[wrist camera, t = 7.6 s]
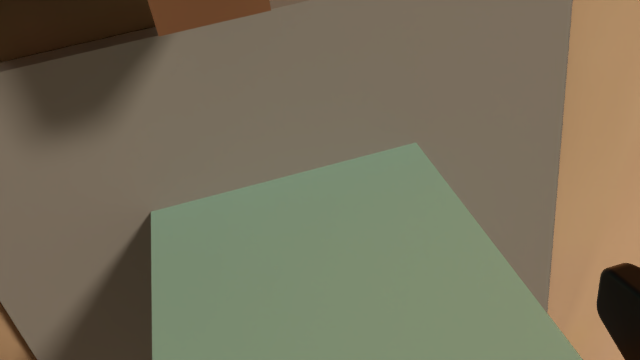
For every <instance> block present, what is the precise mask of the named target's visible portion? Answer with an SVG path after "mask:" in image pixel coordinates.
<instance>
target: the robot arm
mask: <svg viewBox="0 0 640 360" xmlns="http://www.w3.org/2000/svg"><path fill="white" fill-rule="evenodd" d="M597 310H598V314H599V316H600V318H601V320H602V322H603V324H604V325H605V327H606V329H607V330H608V332H609V334H610V335H611V337H612V339H613V340H614V342H615V344H616V345H617V347H618V349H619V350H620V352H621V354H622V355H623V357H624V359H625V360H640V267H637V266H635V265H633V264H629V263H623V264H619V265H616V266H612V267H609V268H606V269H604V270H603V272H602V273H601V277H600V283H599V290H598V297H597Z"/></svg>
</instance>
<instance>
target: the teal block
mask: <svg viewBox="0 0 640 360" xmlns="http://www.w3.org/2000/svg"><path fill="white" fill-rule="evenodd" d="M151 285H152V360H583V359H582V358H581V357H580V355H579V354H578V353H577V351H576V350H575V349H574V348H573V346H572V345H571V344H570V342H569V341H568V340H567V338H566V337H565V336H564V335H563V333H562V332H561V331H560V329H559V328H558V327H557V325H556V324H555V323H554V321H553V320H552V319H551V318H550V316H549V315H548V314H547V312H546V311H545V310H544V308H543V307H542V306H541V305H540V303H539V302H538V301H537V299H536V298H535V297H534V295H533V294H532V293H531V291H530V290H529V289H528V288H527V286H526V285H525V284H524V282H523V281H522V280H521V278H520V277H519V276H518V275H517V273H516V272H515V271H514V269H513V268H512V267H511V265H510V264H509V263H508V262H507V260H506V259H505V258H504V256H503V255H502V254H501V252H500V251H499V250H498V248H497V247H496V246H495V245H494V243H493V242H492V241H491V239H490V238H489V237H488V235H487V234H486V233H485V232H484V230H483V229H482V228H481V226H480V225H479V224H478V222H477V221H476V220H475V218H474V217H473V216H472V215H471V213H470V212H469V211H468V209H467V208H466V207H465V205H464V204H463V203H462V202H461V200H460V199H459V198H458V196H457V195H456V194H455V192H454V191H453V190H452V189H451V187H450V186H449V185H448V183H447V182H446V181H445V179H444V178H443V177H442V175H441V174H440V173H439V172H438V170H437V169H436V168H435V166H434V165H433V164H432V162H431V161H430V160H429V159H428V157H427V156H426V155H425V153H424V152H423V151H422V149H421V148H420V147H419V145H418V144H417V143H412V144H408V145H404V146H400V147H397V148H393V149H389V150H385V151H381V152H377V153H374V154H370V155H366V156H362V157H358V158H354V159H351V160H347V161H343V162H339V163H335V164H332V165H328V166H324V167H320V168H316V169H312V170H309V171H305V172H301V173H297V174H293V175H289V176H286V177H282V178H278V179H274V180H270V181H266V182H263V183H259V184H255V185H251V186H247V187H244V188H240V189H236V190H232V191H228V192H224V193H221V194H217V195H213V196H209V197H205V198H201V199H198V200H194V201H190V202H186V203H182V204H179V205H175V206H171V207H167V208H163V209H159V210H156V211H152V212H151Z"/></svg>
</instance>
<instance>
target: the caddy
mask: <svg viewBox="0 0 640 360" xmlns="http://www.w3.org/2000/svg"><path fill="white" fill-rule="evenodd" d="M147 1H148V4H149V7H150V10H151V14H152V17H153V20H154V23H155V26H156V29H157V32H158V36H163V35H168V34H172V33H176V32H181V31H185V30H189V29H194V28H198V27H202V26H207V25H211V24H215V23H219V22H224V21H228V20H232V19H237V18H241V17H245V16H250V15H254V14H258V13H263V12H267V11H271V6H270V1H269V0H147Z"/></svg>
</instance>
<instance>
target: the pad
mask: <svg viewBox="0 0 640 360" xmlns="http://www.w3.org/2000/svg"><path fill="white" fill-rule="evenodd" d="M269 1H270V6H271V11H267V12H263V13H258V14H254V15H250V16H245V17H241V18H237V19H232V20H228V21H224V22H219V23H215V24H211V25H207V26H202V27H198V28H194V29H189V30H185V31H181V32H176V33H172V34H168V35H163V36H158V32H157V29H156V27H152V28H148V29H143V30H139V31H135V32H130V33H126V34H122V35H117V36H113V37H109V38H104V39H100V40H96V41H91V42H87V43H83V44H78V45H74V46H70V47H65V48H61V49H57V50H52V51H48V52H44V53H39V54H35V55H31V56H26V57H22V58H18V59H13V60H9V61H4V62H0V302H1V304H2V305H3V307H4V308H5V310H6V311H7V313H8V315H9V316H10V318H11V319H12V321H13V322H14V324H15V326H16V327H17V329H18V330H19V332H20V333H21V335H22V337H23V338H24V340H25V341H26V343H27V345H28V346H29V348H30V349H31V351H32V352H33V354H34V356H35V357H36V359H37V360H152V285H151V212H152V211H156V210H159V209H163V208H167V207H171V206H175V205H179V204H182V203H186V202H190V201H194V200H198V199H201V198H205V197H209V196H213V195H217V194H221V193H224V192H228V191H232V190H236V189H240V188H244V187H247V186H251V185H255V184H259V183H263V182H266V181H270V180H274V179H278V178H282V177H286V176H289V175H293V174H297V173H301V172H305V171H309V170H312V169H316V168H320V167H324V166H328V165H332V164H335V163H339V162H343V161H347V160H351V159H354V158H358V157H362V156H366V155H370V154H374V153H377V152H381V151H385V150H389V149H393V148H397V147H400V146H404V145H408V144H412V143H417V144H418V145H419V147H420V148H421V149H422V151H423V152H424V153H425V155H426V156H427V157H428V159H429V160H430V161H431V162H432V164H433V165H434V166H435V168H436V169H437V170H438V172H439V173H440V174H441V175H442V177H443V178H444V179H445V181H446V182H447V183H448V185H449V186H450V187H451V189H452V190H453V191H454V192H455V194H456V195H457V196H458V198H459V199H460V200H461V202H462V203H463V204H464V205H465V207H466V208H467V209H468V211H469V212H470V213H471V215H472V216H473V217H474V218H475V220H476V221H477V222H478V224H479V225H480V226H481V228H482V229H483V230H484V232H485V233H486V234H487V235H488V237H489V238H490V239H491V241H492V242H493V243H494V245H495V246H496V247H497V248H498V250H499V251H500V252H501V254H502V255H503V256H504V258H505V259H506V260H507V262H508V263H509V264H510V265H511V267H512V268H513V269H514V271H515V272H516V273H517V275H518V276H519V277H520V278H521V280H522V281H523V282H524V284H525V285H526V286H527V288H528V289H529V290H530V291H531V293H532V294H533V295H534V297H535V298H536V299H537V301H538V302H539V303H540V305H541V306H542V307H543V308H544V310H545V311H546V312H547V309H548V297H549V285H550V272H551V260H552V248H553V235H554V223H555V211H556V198H557V186H558V174H559V161H560V149H561V137H562V125H563V112H564V100H565V88H566V75H567V63H568V51H569V38H570V26H571V14H572V1H573V0H269Z"/></svg>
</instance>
